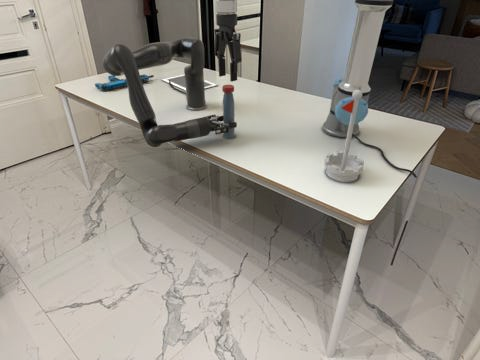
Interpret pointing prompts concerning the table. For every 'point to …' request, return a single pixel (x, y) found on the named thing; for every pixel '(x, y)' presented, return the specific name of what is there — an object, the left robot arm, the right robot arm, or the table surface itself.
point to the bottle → (228, 113)
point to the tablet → (180, 82)
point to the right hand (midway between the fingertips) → (228, 78)
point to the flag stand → (346, 151)
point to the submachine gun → (118, 82)
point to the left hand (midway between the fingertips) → (231, 120)
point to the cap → (228, 88)
